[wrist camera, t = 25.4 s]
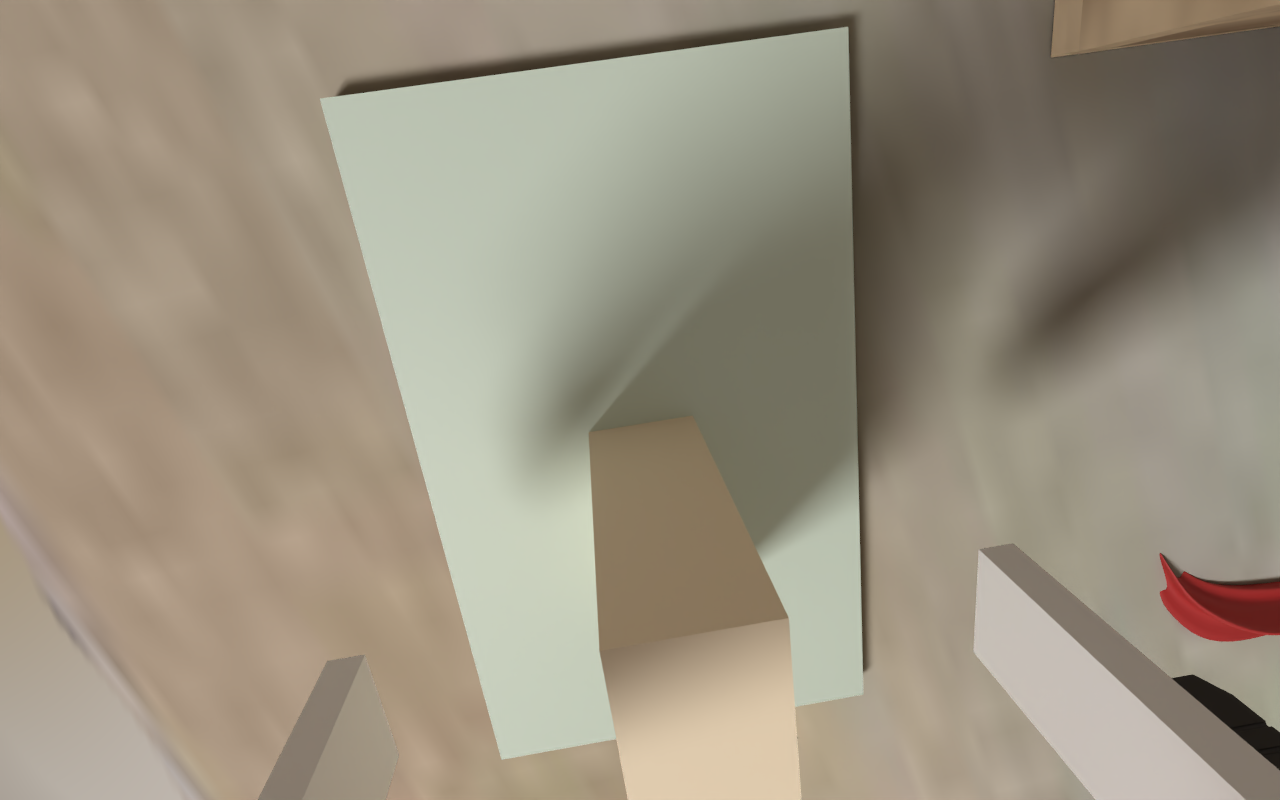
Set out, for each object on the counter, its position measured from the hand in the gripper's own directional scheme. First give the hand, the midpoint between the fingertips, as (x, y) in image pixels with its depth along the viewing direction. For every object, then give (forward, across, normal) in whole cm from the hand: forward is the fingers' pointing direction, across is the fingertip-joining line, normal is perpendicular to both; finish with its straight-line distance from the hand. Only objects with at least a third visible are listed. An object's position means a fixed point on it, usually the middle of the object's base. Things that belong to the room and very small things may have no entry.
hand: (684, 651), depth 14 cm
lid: (+7, 0, +2) cm, 7 cm away
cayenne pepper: (+7, +22, -8) cm, 25 cm away
